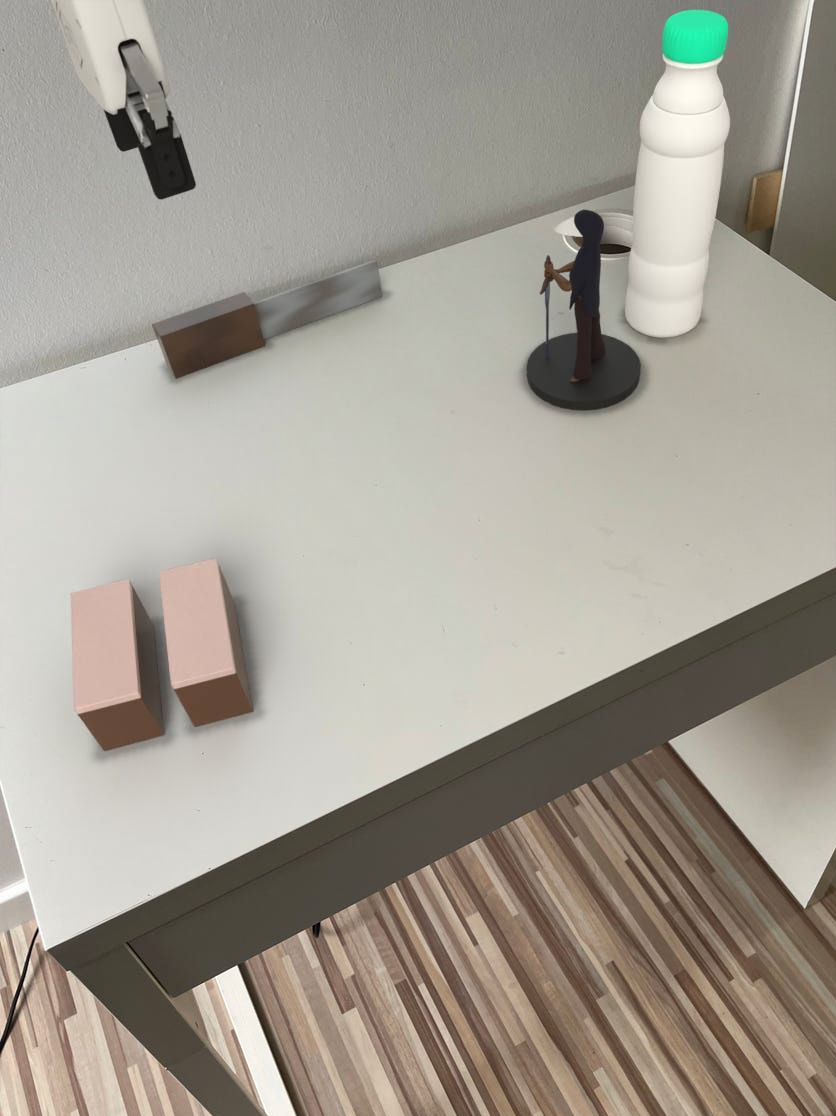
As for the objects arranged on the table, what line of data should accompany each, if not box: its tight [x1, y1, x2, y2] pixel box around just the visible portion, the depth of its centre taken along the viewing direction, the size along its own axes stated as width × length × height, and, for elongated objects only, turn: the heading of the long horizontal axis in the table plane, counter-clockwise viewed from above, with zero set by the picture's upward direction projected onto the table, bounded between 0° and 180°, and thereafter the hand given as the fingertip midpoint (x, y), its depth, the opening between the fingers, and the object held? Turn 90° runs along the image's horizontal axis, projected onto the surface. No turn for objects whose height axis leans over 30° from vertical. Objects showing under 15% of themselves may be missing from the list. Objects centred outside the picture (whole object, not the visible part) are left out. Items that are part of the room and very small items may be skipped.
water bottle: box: [624, 9, 731, 339], centre depth 78 cm, size 7×7×25 cm
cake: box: [70, 557, 254, 752], centre depth 63 cm, size 10×10×5 cm
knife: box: [151, 259, 383, 379], centre depth 88 cm, size 22×2×4 cm, turn 120°
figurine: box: [526, 209, 642, 411], centre depth 77 cm, size 10×10×15 cm
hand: (156, 168), depth 74 cm, fingers open, 9 cm apart
